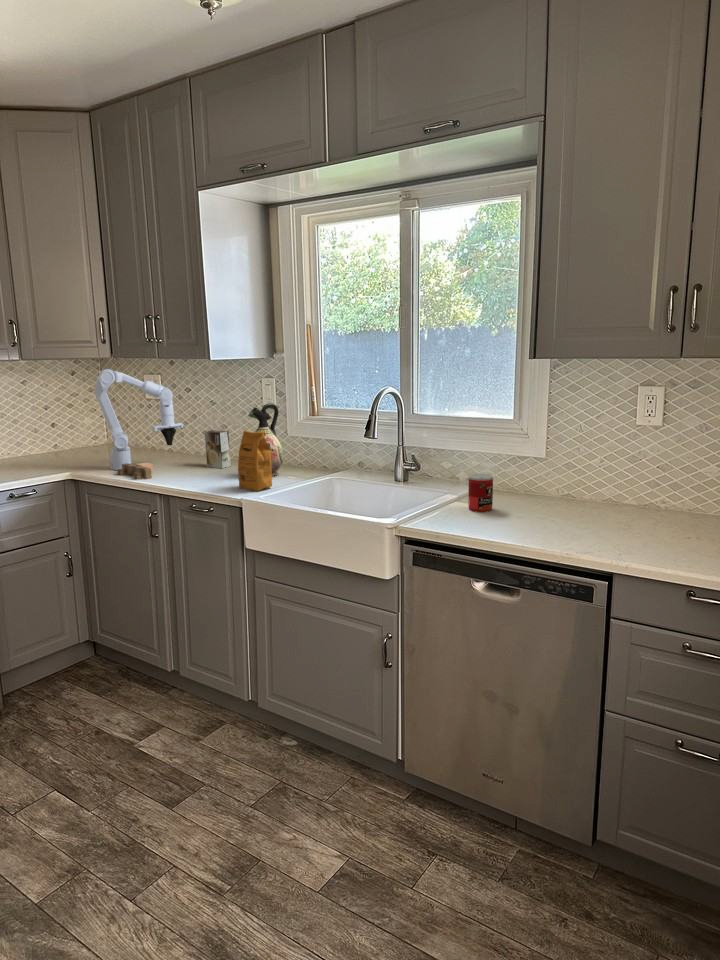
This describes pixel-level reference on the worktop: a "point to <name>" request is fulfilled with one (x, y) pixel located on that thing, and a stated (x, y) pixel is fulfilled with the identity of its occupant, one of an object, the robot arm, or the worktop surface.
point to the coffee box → (217, 449)
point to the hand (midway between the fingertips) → (169, 445)
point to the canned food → (480, 492)
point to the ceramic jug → (269, 434)
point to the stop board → (135, 471)
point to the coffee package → (254, 462)
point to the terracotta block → (146, 466)
